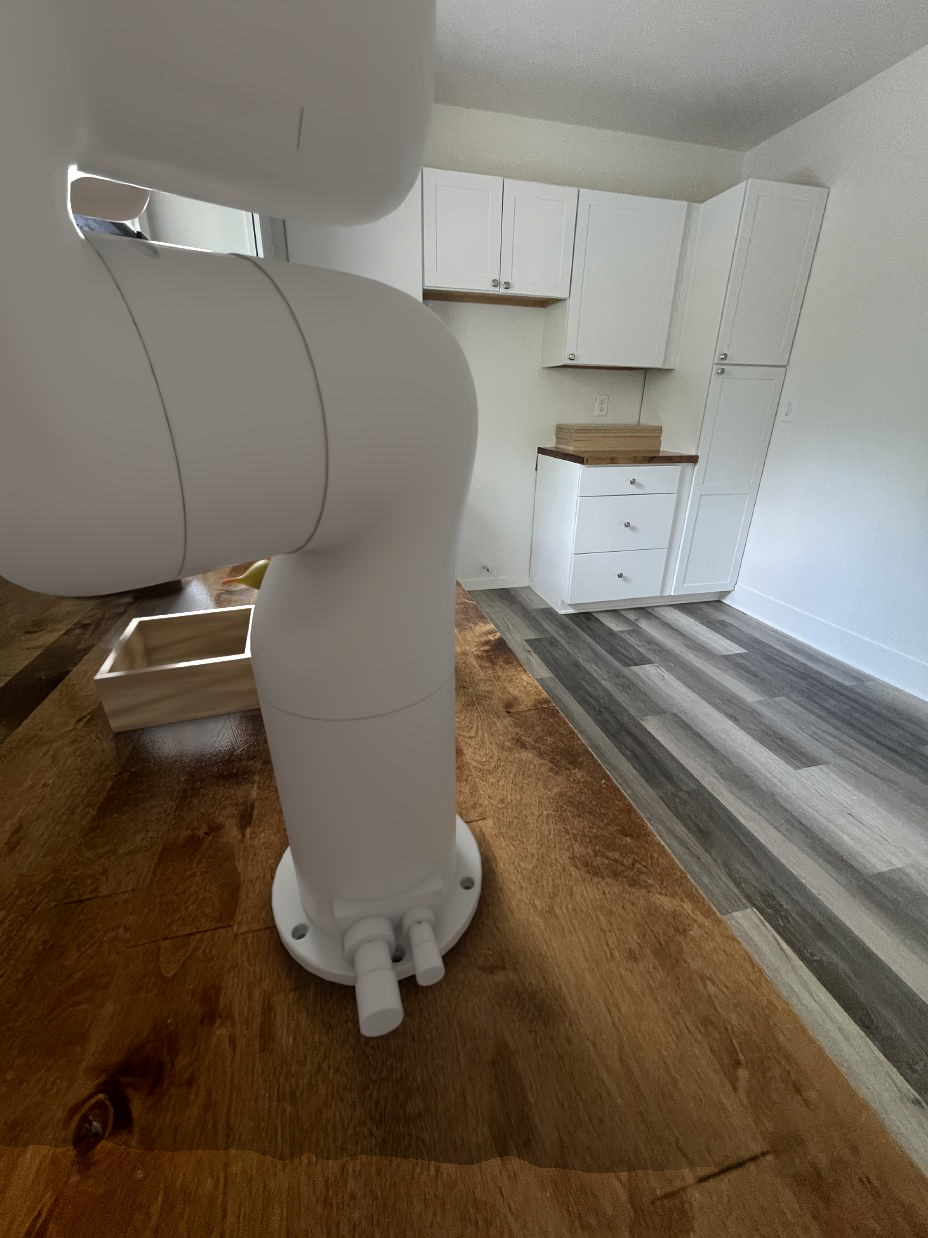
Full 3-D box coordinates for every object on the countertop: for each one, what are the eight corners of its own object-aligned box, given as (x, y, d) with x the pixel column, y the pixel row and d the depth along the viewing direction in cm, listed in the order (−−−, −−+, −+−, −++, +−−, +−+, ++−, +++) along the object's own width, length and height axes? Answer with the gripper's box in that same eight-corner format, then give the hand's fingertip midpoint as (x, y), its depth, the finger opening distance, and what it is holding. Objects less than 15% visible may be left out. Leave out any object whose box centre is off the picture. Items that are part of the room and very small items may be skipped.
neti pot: (223, 611, 68) (213, 566, 65) (325, 584, 77) (319, 543, 74) (235, 622, 65) (224, 574, 62) (338, 592, 74) (333, 550, 71)
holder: (263, 707, 48) (253, 656, 45) (113, 733, 44) (92, 679, 42) (268, 647, 59) (259, 603, 56) (147, 664, 55) (132, 618, 53)
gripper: (-117, 285, 39) (-21, 515, 46) (134, 293, 44) (184, 501, 51) (-59, 300, 46) (17, 500, 53) (154, 306, 50) (196, 488, 58)
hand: (99, 498), depth 52 cm, fingers closed on pill bottle, 6 cm apart
